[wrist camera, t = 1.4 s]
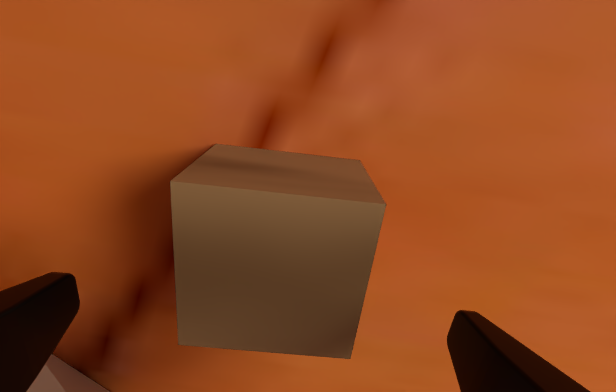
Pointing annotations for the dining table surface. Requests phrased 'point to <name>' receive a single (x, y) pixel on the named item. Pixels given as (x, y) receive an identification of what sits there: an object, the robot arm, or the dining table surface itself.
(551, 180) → the dining table surface
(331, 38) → the dining table surface
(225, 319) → the walnut block
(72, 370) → the pale faceted polyhedron
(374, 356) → the dining table surface
